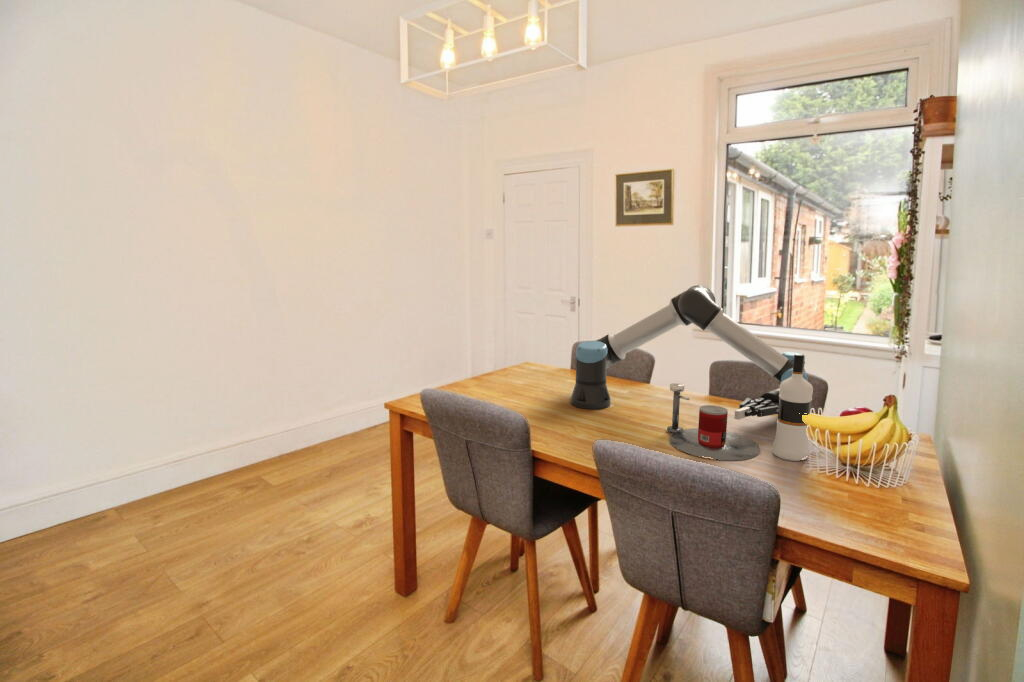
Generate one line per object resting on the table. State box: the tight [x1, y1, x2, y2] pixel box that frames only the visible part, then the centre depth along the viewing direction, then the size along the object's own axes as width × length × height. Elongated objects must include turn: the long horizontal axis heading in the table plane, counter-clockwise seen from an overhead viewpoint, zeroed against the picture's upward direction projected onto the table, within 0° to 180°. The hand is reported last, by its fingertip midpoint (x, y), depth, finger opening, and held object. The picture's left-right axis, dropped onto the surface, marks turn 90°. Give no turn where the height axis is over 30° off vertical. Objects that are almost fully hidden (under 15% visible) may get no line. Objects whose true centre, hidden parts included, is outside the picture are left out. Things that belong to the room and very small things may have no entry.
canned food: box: [698, 404, 728, 448], centre depth 161 cm, size 8×8×11 cm
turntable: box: [669, 427, 761, 462], centre depth 163 cm, size 26×26×1 cm
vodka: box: [771, 353, 814, 462], centre depth 150 cm, size 9×9×30 cm
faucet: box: [666, 382, 691, 434], centre depth 171 cm, size 7×5×16 cm
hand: (736, 415), depth 168 cm, fingers closed
